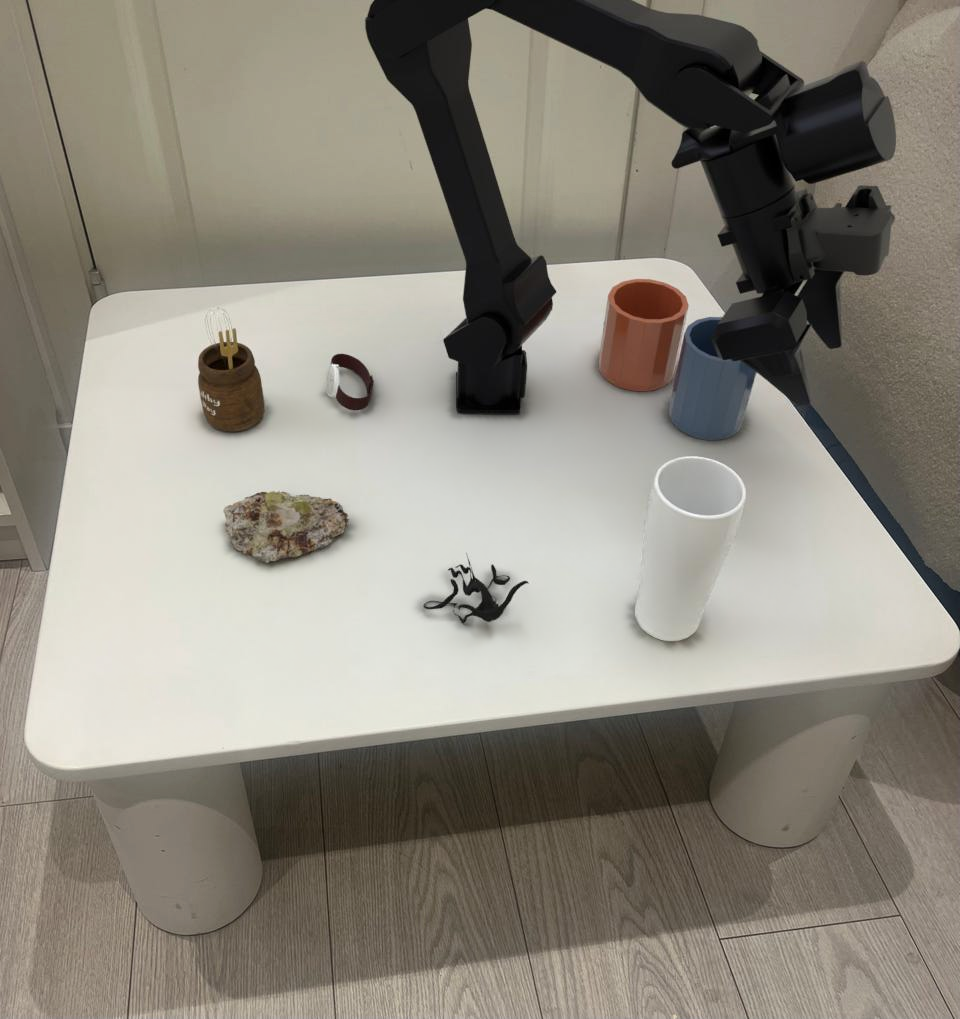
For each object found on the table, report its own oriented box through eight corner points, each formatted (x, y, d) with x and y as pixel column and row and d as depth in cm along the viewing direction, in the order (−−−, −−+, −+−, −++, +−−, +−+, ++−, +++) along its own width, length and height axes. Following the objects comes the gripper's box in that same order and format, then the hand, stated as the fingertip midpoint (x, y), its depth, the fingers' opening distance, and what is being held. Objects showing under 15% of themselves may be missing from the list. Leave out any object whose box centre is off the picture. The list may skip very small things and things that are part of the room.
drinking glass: (705, 658, 80) (747, 525, 70) (621, 643, 81) (649, 509, 71) (709, 595, 85) (748, 462, 75) (629, 581, 86) (657, 448, 76)
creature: (411, 600, 85) (453, 653, 79) (404, 548, 82) (447, 599, 76) (493, 570, 88) (540, 619, 82) (490, 518, 85) (537, 566, 79)
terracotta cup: (602, 390, 105) (613, 321, 99) (595, 345, 111) (604, 278, 105) (679, 392, 105) (694, 323, 99) (667, 347, 111) (681, 279, 105)
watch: (321, 373, 105) (318, 344, 103) (365, 367, 106) (364, 338, 104) (334, 419, 100) (331, 390, 98) (381, 412, 101) (379, 383, 99)
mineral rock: (218, 554, 83) (222, 472, 87) (224, 578, 87) (227, 497, 91) (350, 550, 85) (347, 469, 89) (350, 573, 89) (348, 494, 92)
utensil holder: (255, 390, 103) (240, 287, 95) (274, 426, 99) (259, 323, 91) (197, 404, 101) (176, 301, 93) (214, 442, 97) (194, 337, 89)
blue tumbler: (674, 439, 100) (692, 361, 93) (663, 393, 105) (679, 316, 98) (748, 441, 100) (771, 362, 93) (734, 394, 105) (754, 317, 99)
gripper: (826, 221, 66) (894, 422, 72) (893, 121, 78) (946, 300, 84) (676, 263, 73) (749, 442, 79) (758, 165, 85) (816, 328, 91)
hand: (820, 374), depth 83 cm, fingers open, 9 cm apart
